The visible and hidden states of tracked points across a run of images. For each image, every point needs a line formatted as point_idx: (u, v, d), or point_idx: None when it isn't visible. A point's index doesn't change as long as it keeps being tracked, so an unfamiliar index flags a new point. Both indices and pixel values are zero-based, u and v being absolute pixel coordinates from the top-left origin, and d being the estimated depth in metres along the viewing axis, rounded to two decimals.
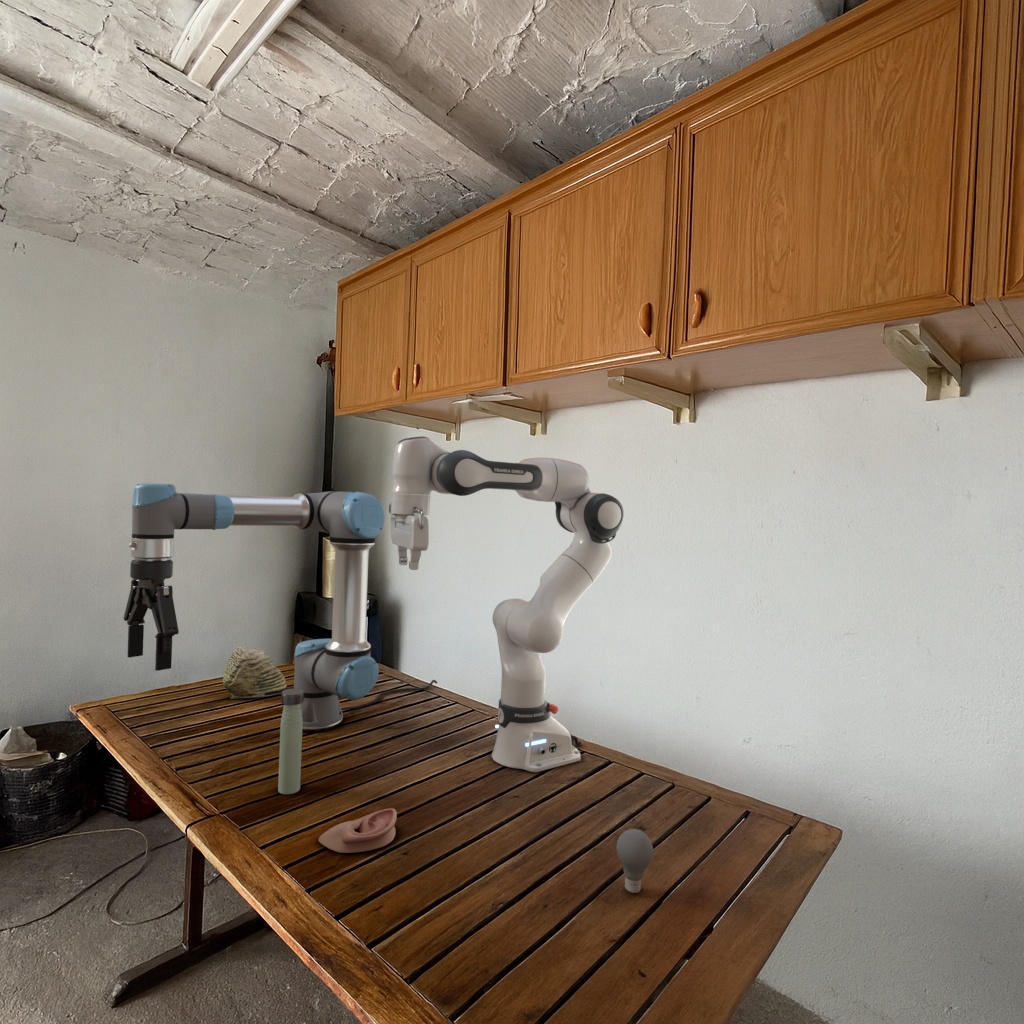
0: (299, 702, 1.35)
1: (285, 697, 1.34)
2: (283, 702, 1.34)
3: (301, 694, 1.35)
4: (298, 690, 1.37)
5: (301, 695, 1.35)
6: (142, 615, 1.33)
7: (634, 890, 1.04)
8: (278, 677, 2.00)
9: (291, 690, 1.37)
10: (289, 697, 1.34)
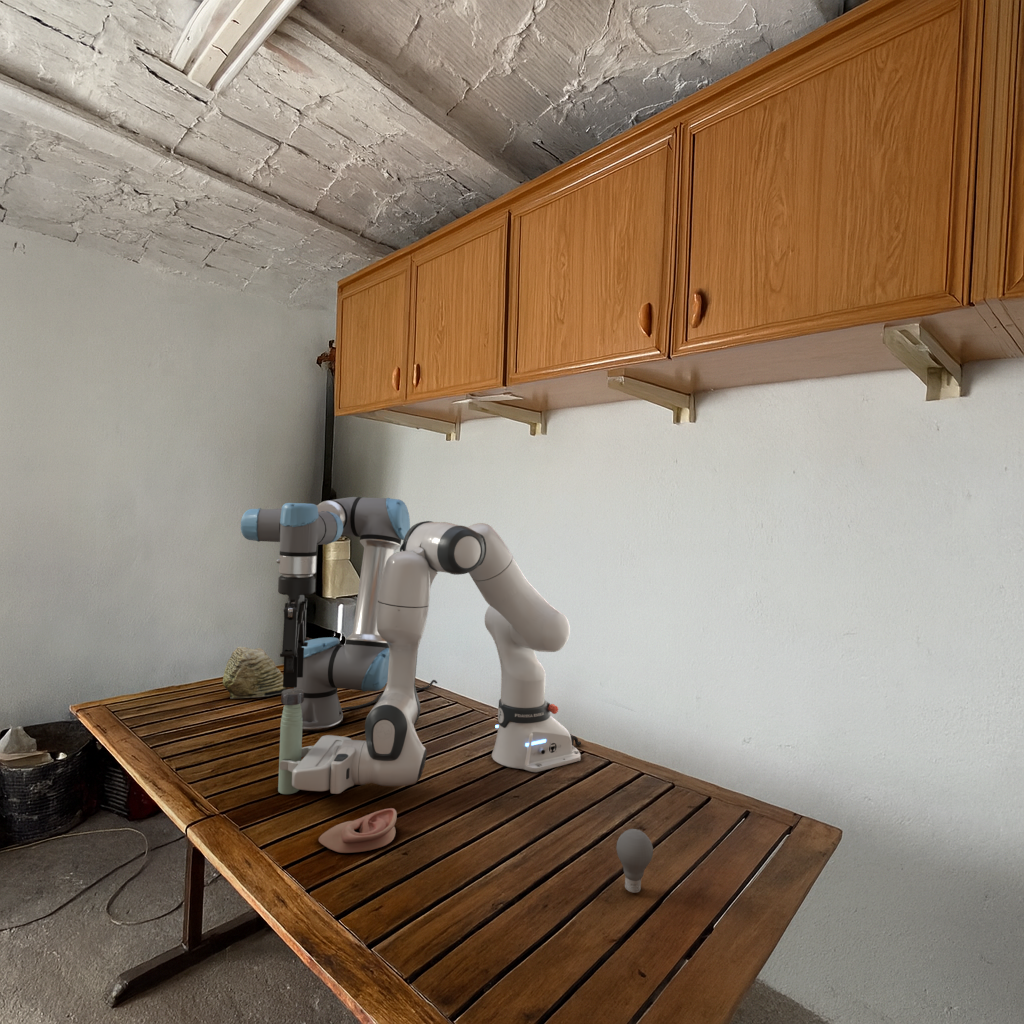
0: (299, 702, 1.35)
1: (285, 697, 1.34)
2: (283, 702, 1.34)
3: (301, 694, 1.35)
4: (298, 690, 1.37)
5: (301, 695, 1.35)
6: (300, 635, 1.39)
7: (634, 890, 1.04)
8: (278, 677, 2.00)
9: (291, 690, 1.37)
10: (289, 697, 1.34)
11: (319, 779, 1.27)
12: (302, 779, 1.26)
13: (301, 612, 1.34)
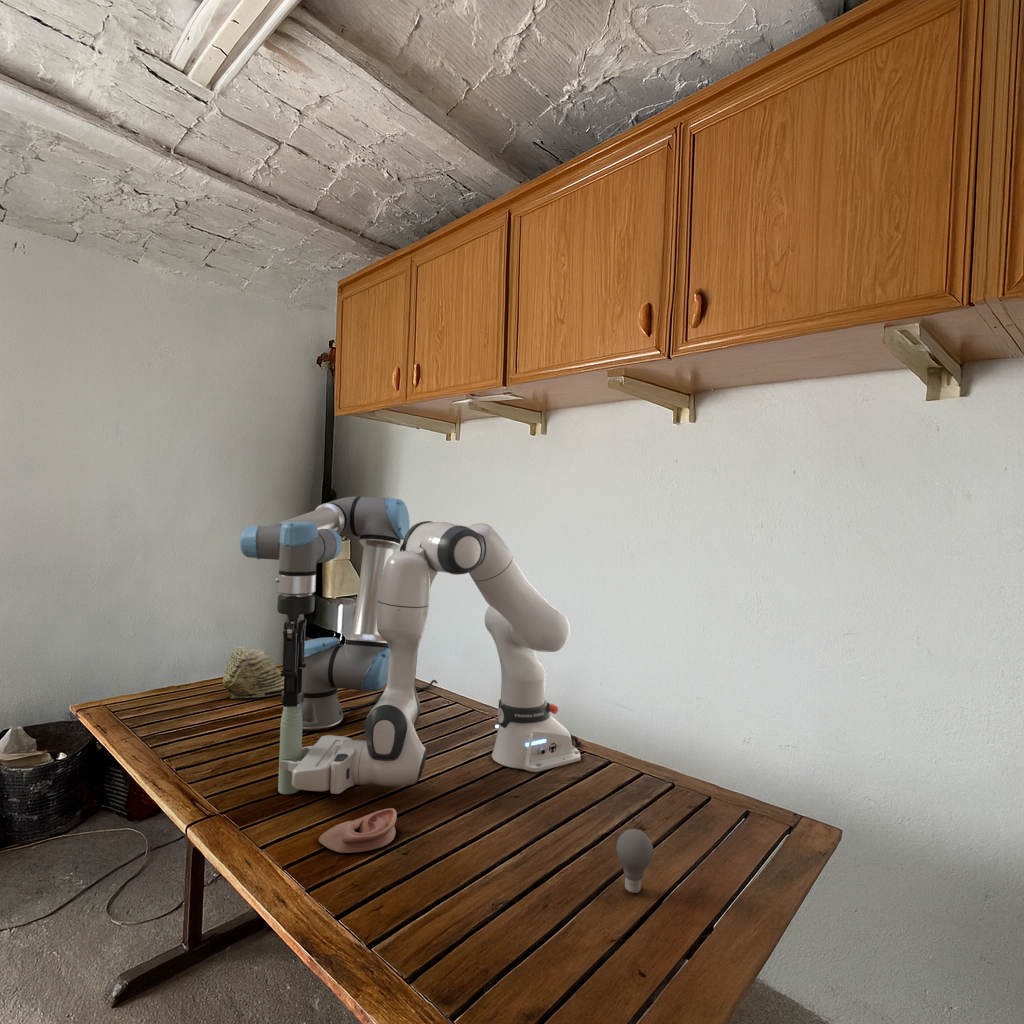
0: (299, 702, 1.35)
1: None
2: None
3: (301, 694, 1.35)
4: (298, 690, 1.37)
5: (301, 695, 1.35)
6: (299, 655, 1.38)
7: (634, 890, 1.04)
8: (278, 677, 2.00)
9: None
10: None
11: (319, 779, 1.27)
12: (302, 779, 1.26)
13: (300, 632, 1.34)
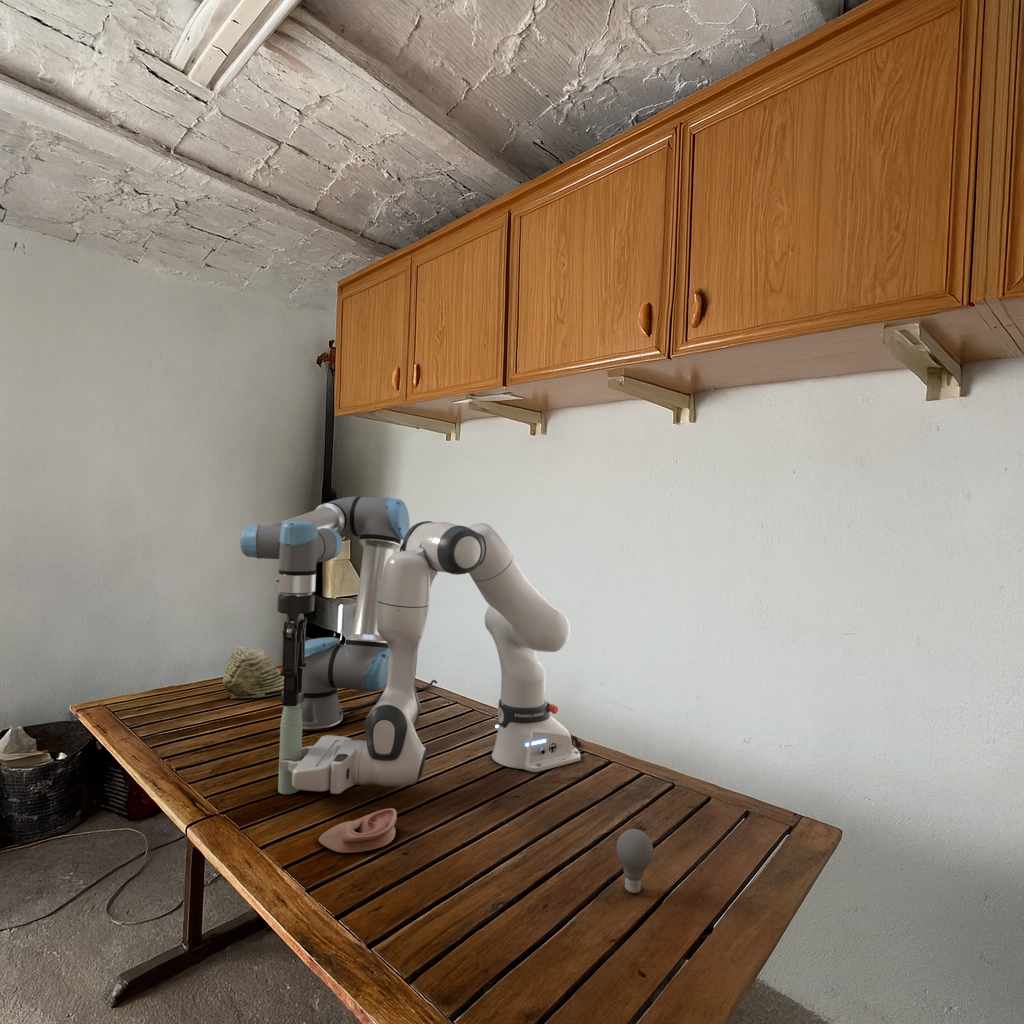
0: None
1: None
2: (303, 699, 1.36)
3: None
4: None
5: None
6: (299, 655, 1.38)
7: (634, 890, 1.04)
8: (278, 677, 2.00)
9: None
10: None
11: (319, 779, 1.27)
12: (302, 779, 1.26)
13: (300, 631, 1.34)
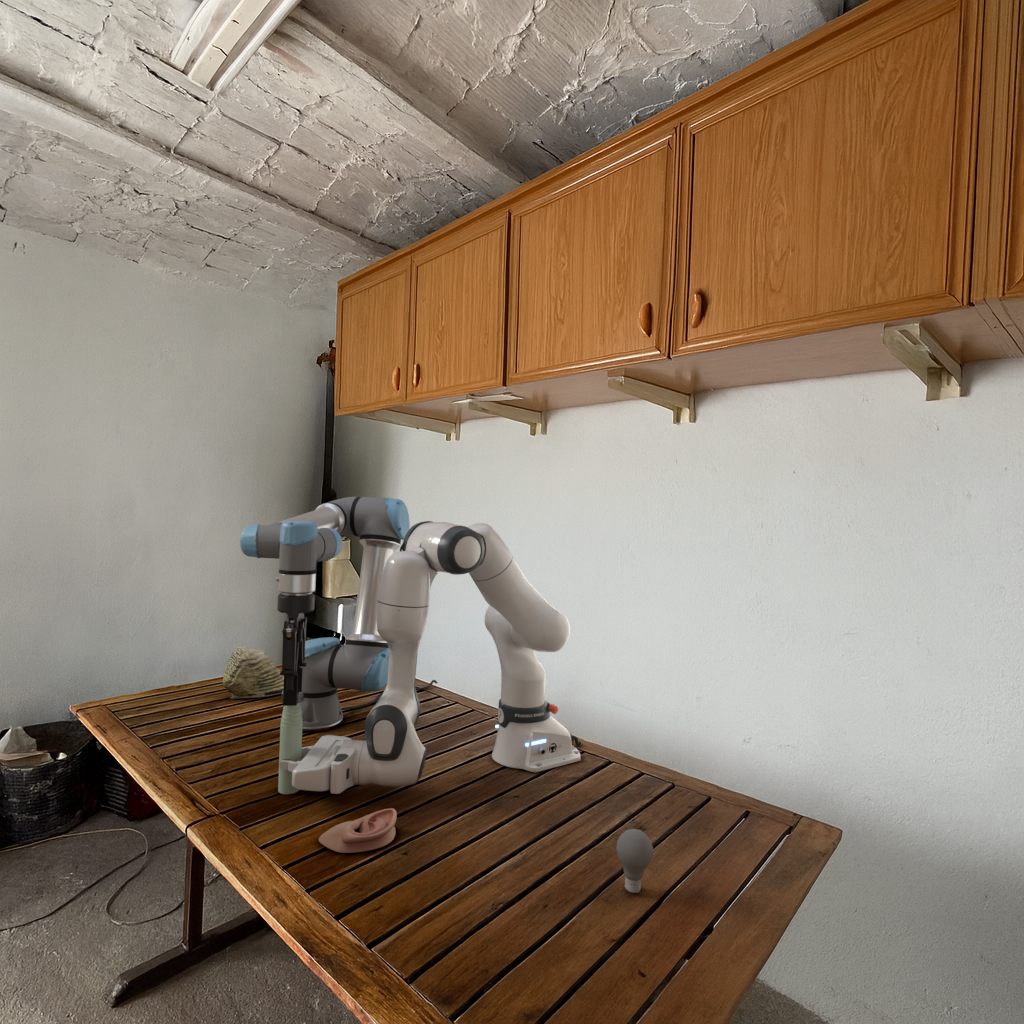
0: None
1: None
2: None
3: None
4: None
5: None
6: (299, 654, 1.38)
7: (634, 890, 1.04)
8: (278, 677, 2.00)
9: None
10: None
11: (319, 779, 1.27)
12: (302, 779, 1.26)
13: (300, 630, 1.34)
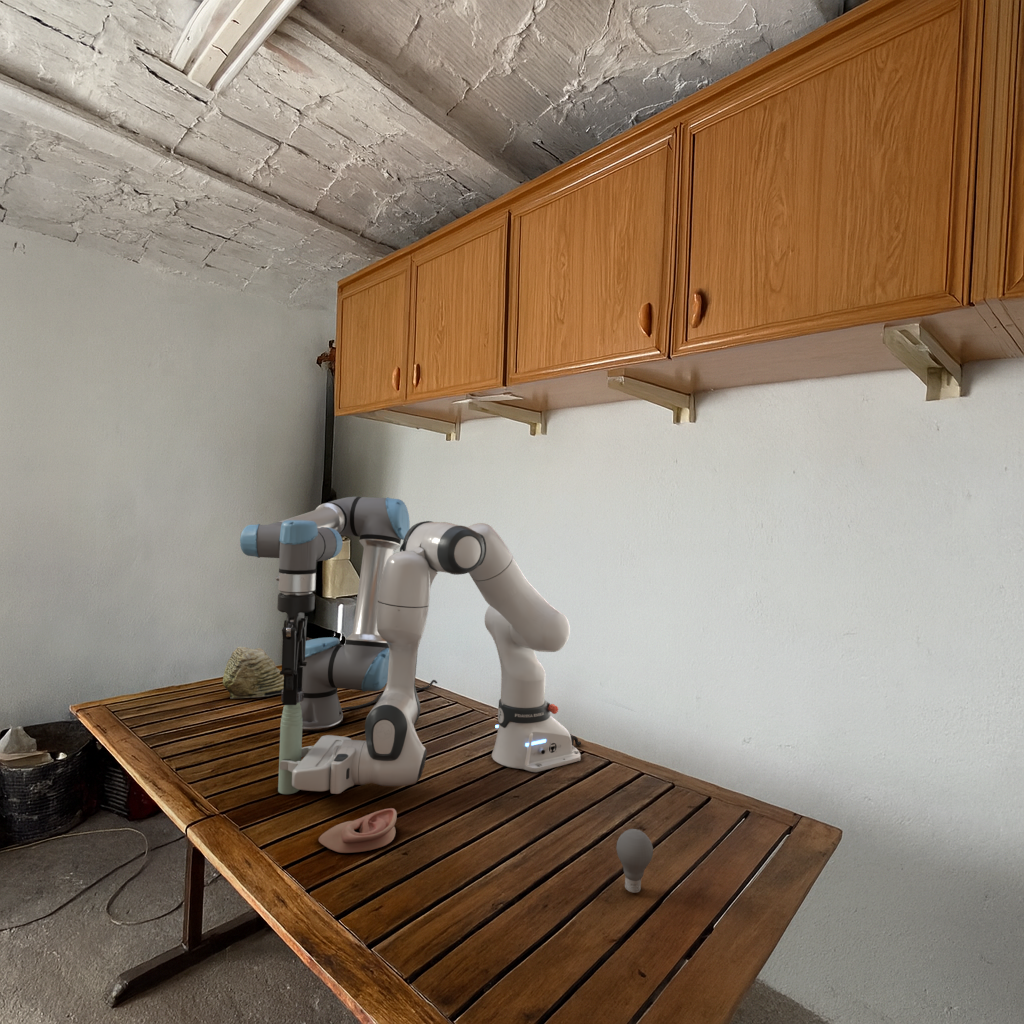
0: (303, 698, 1.36)
1: None
2: None
3: (303, 690, 1.37)
4: None
5: (303, 691, 1.37)
6: (299, 653, 1.38)
7: (634, 890, 1.04)
8: (278, 677, 2.00)
9: None
10: (297, 694, 1.34)
11: (319, 779, 1.27)
12: (302, 779, 1.26)
13: (300, 630, 1.34)
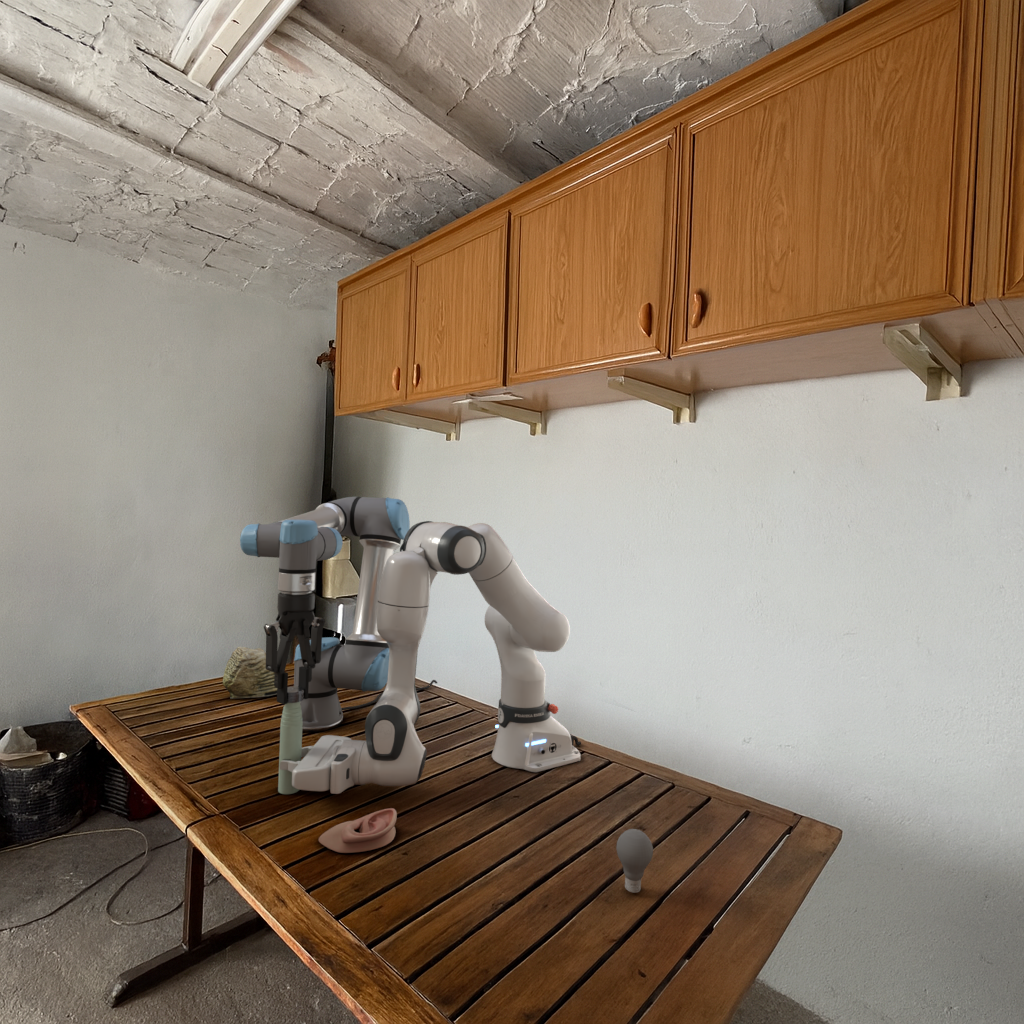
0: None
1: None
2: None
3: None
4: (287, 690, 1.35)
5: None
6: None
7: (634, 890, 1.04)
8: None
9: (293, 690, 1.35)
10: None
11: (319, 779, 1.27)
12: (302, 779, 1.26)
13: None
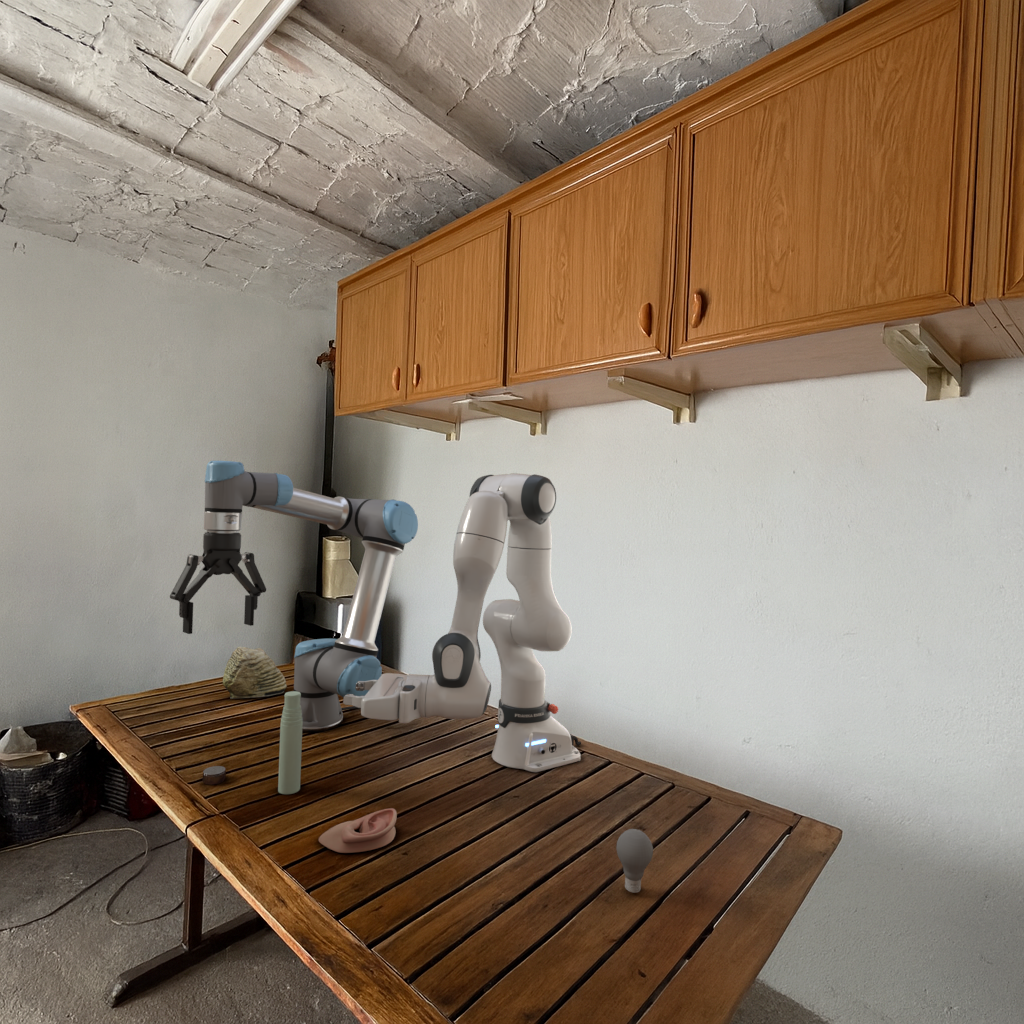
0: None
1: None
2: None
3: None
4: (208, 771, 1.38)
5: None
6: None
7: (634, 890, 1.04)
8: (278, 677, 2.00)
9: (215, 771, 1.38)
10: None
11: (388, 708, 1.26)
12: (371, 707, 1.26)
13: None
